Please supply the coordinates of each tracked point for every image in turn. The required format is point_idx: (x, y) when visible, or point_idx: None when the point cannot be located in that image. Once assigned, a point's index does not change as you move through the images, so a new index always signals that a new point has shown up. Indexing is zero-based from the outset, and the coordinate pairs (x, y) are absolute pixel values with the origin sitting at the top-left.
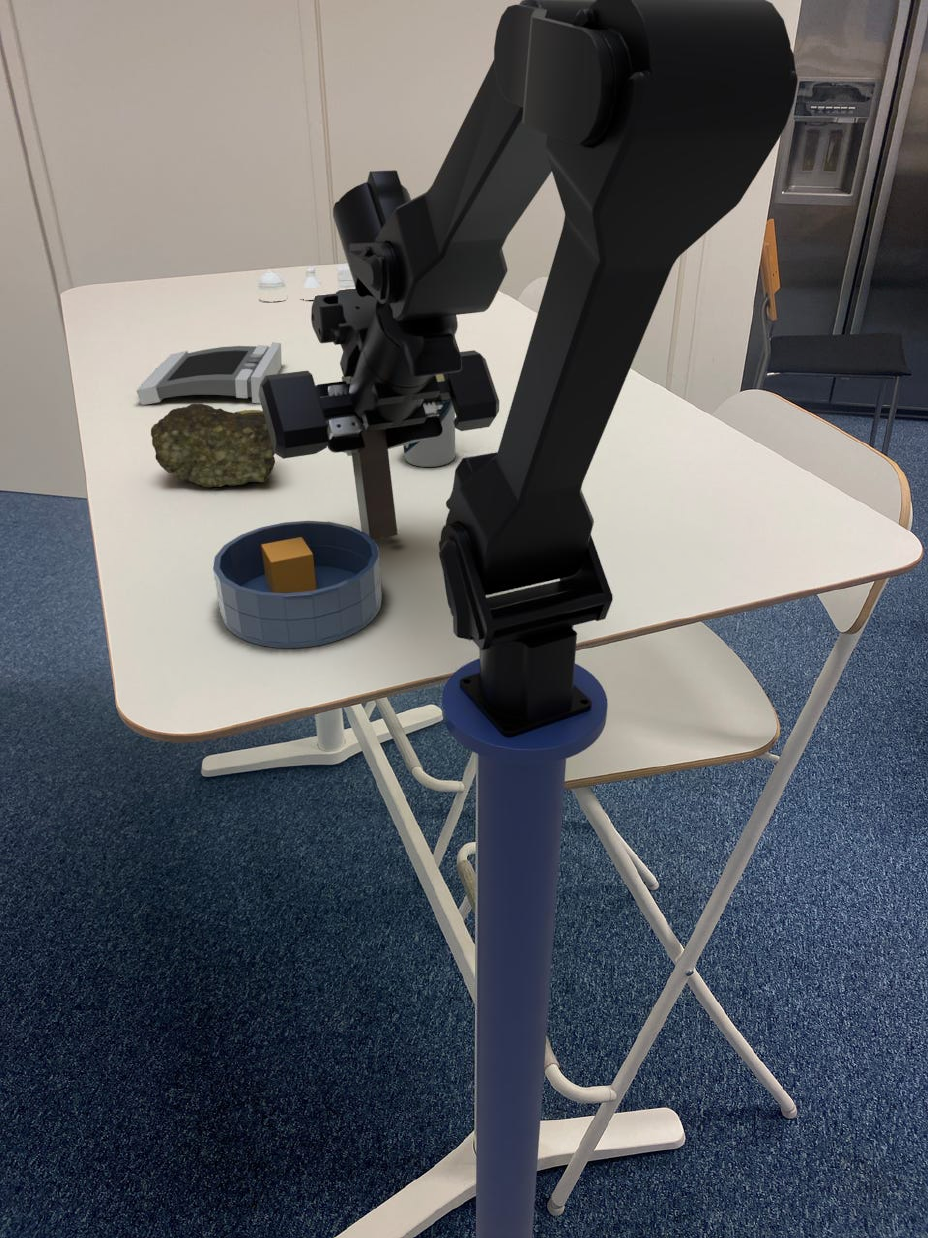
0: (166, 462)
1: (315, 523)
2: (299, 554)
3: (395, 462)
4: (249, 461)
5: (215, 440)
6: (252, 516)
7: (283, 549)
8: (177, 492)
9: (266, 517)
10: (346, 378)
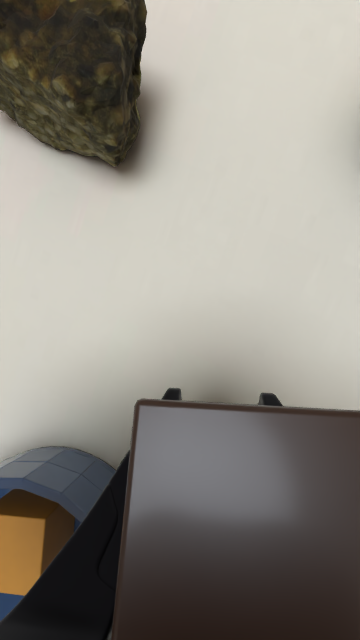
0: None
1: (69, 511)
2: (19, 587)
3: (344, 147)
4: (84, 138)
5: (17, 83)
6: (77, 257)
7: (2, 554)
8: (12, 138)
9: (93, 268)
10: (120, 556)
